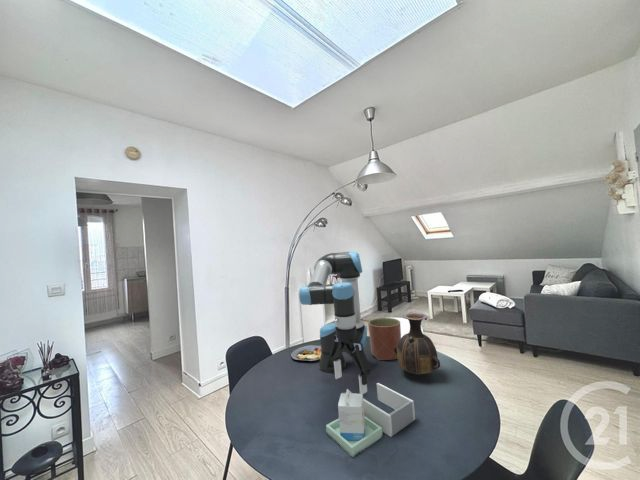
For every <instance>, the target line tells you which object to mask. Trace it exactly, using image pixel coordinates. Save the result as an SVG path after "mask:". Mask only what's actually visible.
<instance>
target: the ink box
mask: <svg viewBox="0 0 640 480" xmlns="http://www.w3.org/2000/svg"><path fill="white" fill-rule="evenodd" d="M363 395H364V394H362V395H361V394H360V393H356V392H355V393H353V392H352V391H350V389H348V388H347V389H346V392H341V393H340V396H339V400H338V404H337V409H338V418H339V425H340V435H341V436H342V437H343V438H344V439H345V440H350V441H359V440H361V439H362V438H364V437H365V416H364V404H363V399H364V396H363Z"/></svg>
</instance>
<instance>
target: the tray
mask: <svg viewBox="0 0 640 480" xmlns="http://www.w3.org/2000/svg"><path fill="white" fill-rule="evenodd" d="M325 430H326V431H325V432H326V435H328V437H329V438H331V439H332V440H333V441H334V442H335V443H336V444H337V443H338V444H339V445H340V446H339V447H341V448H342V449H343V450H344V451H345V452H346V453H347V455H349V456H350V455H351V456H352V457H353V458H354V457H356V456H357V455H358V453H359V452H360V453H362V452H363V451H365V450H366V449H367V448H369V447H370V446H372V445H373V444H375V442H377V441H379V440H380V439H381V438H383V436H384V435H383V431H382V428H381V427H380V426H378V425H377V424H375V423H374V422H373V421H371V420H370V419H368V418H367V417H365V437H364V438H362V439H361V440H359V441H350V440H345V439H344V438H343V437H342V436H341V435H340V425H339V417H338V418H337V419H335V420H333V421H331V422H329V423H327V424H325ZM338 444H337V445H338ZM365 448H366V449H365ZM362 450H363V451H362ZM360 453H359V454H360ZM356 454H357V455H356ZM355 455H356V456H355ZM351 456H350V457H351ZM352 457H351V458H352Z"/></svg>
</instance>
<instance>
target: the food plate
mask: <svg viewBox="0 0 640 480" xmlns="http://www.w3.org/2000/svg"><path fill="white" fill-rule="evenodd" d="M303 351H304V352H303ZM300 352H301V354H299V353H300ZM303 354H305V355H303ZM290 355H291V357H292V359H293V360H296V361H297V360H298V361H306V362H307V361H308V362H309V361H310V362H312V361H313V362H315V361H320V357H321V344H319V345H318V344H310V345H304V346H301V347H298V348H296V349H294V350H293V352H291V354H290Z"/></svg>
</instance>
